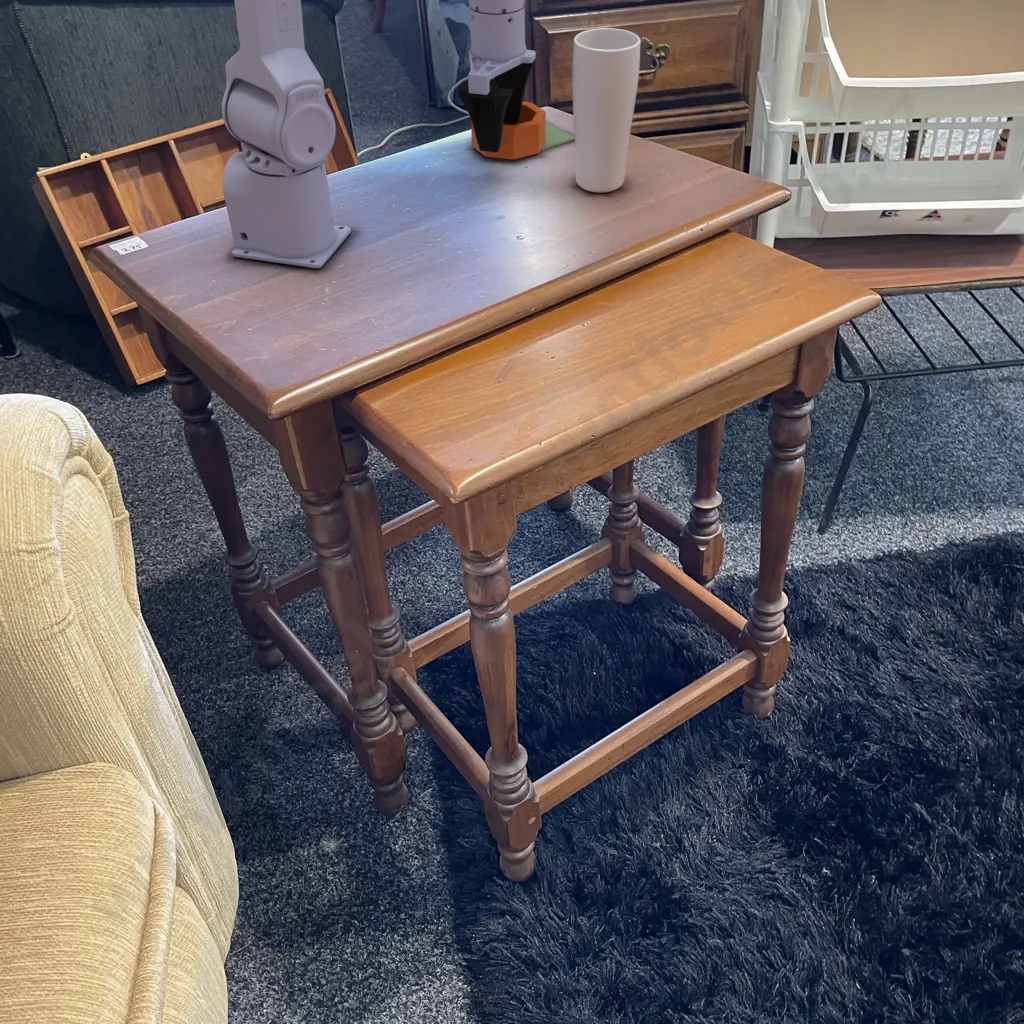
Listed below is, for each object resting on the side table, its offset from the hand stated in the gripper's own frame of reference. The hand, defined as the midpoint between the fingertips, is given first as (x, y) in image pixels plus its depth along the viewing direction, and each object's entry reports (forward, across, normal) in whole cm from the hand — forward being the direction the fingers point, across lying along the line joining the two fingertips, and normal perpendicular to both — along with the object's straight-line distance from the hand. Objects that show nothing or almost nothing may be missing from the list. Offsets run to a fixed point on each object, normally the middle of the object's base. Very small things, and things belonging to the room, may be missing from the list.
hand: (499, 136), depth 111 cm
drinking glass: (+3, -3, -12) cm, 13 cm away
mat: (+3, +6, -2) cm, 7 cm away
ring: (+2, +4, 0) cm, 4 cm away
